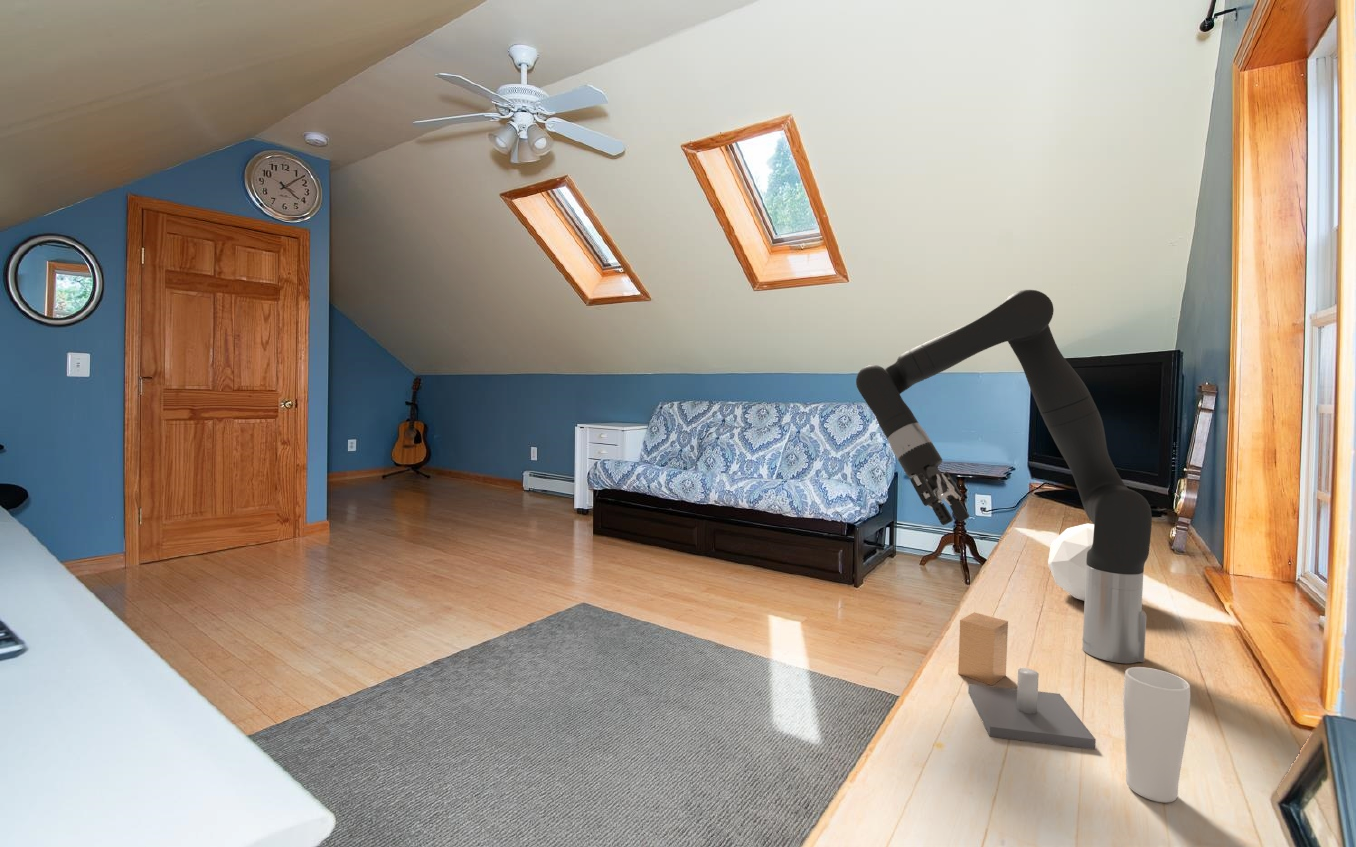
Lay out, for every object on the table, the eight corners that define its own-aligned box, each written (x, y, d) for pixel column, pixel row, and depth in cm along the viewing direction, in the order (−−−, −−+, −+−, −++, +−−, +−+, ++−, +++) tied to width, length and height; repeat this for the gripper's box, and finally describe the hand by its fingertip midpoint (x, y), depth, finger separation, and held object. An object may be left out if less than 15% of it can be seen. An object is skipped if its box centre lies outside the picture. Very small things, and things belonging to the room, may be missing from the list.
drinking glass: (1106, 776, 84) (1111, 666, 83) (1153, 774, 84) (1159, 665, 84) (1148, 810, 77) (1154, 691, 76) (1199, 807, 78) (1206, 689, 77)
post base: (1059, 702, 104) (1061, 658, 103) (1095, 749, 90) (1097, 698, 90) (968, 692, 107) (969, 649, 107) (989, 736, 93) (991, 687, 93)
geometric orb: (1093, 621, 160) (1125, 555, 164) (1140, 621, 141) (1176, 546, 145) (1021, 579, 164) (1055, 515, 169) (1058, 572, 145) (1095, 501, 150)
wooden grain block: (972, 664, 118) (974, 612, 118) (1005, 675, 114) (1008, 621, 113) (958, 673, 114) (960, 619, 114) (992, 685, 110) (994, 629, 109)
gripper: (914, 440, 122) (960, 515, 115) (943, 440, 132) (986, 510, 125) (883, 459, 126) (925, 533, 120) (913, 458, 136) (954, 526, 130)
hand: (956, 521), depth 123 cm, fingers open, 8 cm apart
